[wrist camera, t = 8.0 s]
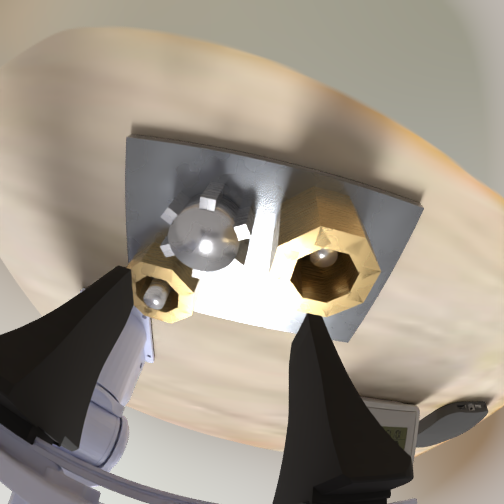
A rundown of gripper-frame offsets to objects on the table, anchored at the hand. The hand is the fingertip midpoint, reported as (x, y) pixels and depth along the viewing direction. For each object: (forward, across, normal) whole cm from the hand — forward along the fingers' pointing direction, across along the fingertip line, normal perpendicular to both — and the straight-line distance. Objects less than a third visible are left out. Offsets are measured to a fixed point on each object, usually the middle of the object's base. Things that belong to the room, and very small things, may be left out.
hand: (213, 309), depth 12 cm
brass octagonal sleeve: (+9, -5, 0) cm, 10 cm away
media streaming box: (+10, -42, +30) cm, 53 cm away
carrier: (+10, -2, +4) cm, 11 cm away
